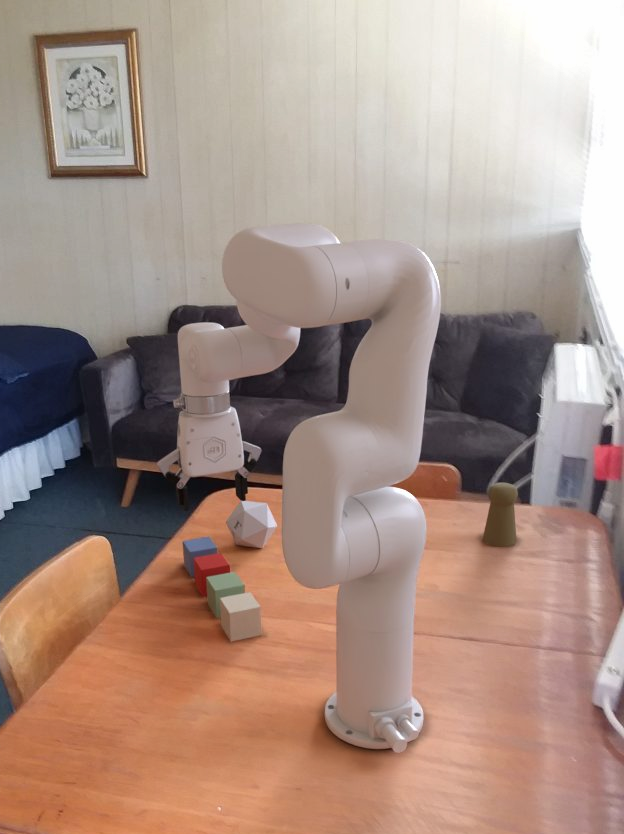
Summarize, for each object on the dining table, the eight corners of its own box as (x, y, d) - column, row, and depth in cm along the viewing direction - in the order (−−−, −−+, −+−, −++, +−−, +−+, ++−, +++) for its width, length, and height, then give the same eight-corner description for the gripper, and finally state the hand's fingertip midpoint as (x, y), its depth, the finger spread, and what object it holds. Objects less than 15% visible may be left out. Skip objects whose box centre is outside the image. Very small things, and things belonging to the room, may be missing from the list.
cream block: (261, 635, 129) (260, 606, 127) (230, 642, 127) (229, 613, 126) (251, 619, 133) (249, 591, 131) (221, 626, 132) (219, 597, 130)
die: (227, 538, 164) (212, 512, 156) (262, 509, 166) (249, 482, 158) (253, 565, 159) (239, 540, 151) (289, 535, 161) (277, 509, 153)
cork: (482, 545, 155) (485, 489, 151) (483, 531, 160) (486, 478, 156) (516, 548, 153) (521, 492, 149) (516, 534, 158) (520, 480, 155)
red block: (231, 591, 142) (229, 564, 141) (202, 596, 141) (201, 570, 139) (222, 578, 147) (221, 552, 145) (194, 583, 145) (193, 557, 144)
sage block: (246, 612, 135) (244, 584, 134) (216, 618, 134) (214, 590, 132) (236, 598, 140) (235, 571, 138) (207, 604, 138) (205, 576, 137)
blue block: (218, 572, 149) (217, 547, 147) (191, 577, 147) (189, 552, 146) (210, 560, 153) (209, 536, 152) (184, 565, 152) (182, 540, 150)
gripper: (158, 415, 126) (167, 520, 132) (266, 400, 131) (270, 502, 137) (147, 404, 133) (156, 504, 139) (250, 390, 138) (254, 487, 144)
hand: (213, 503), depth 138 cm, fingers open, 9 cm apart
